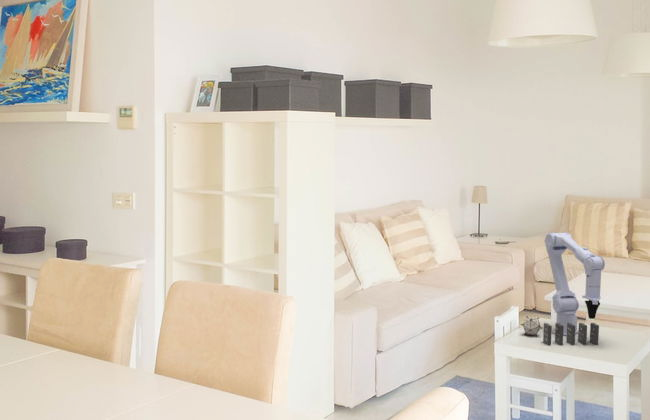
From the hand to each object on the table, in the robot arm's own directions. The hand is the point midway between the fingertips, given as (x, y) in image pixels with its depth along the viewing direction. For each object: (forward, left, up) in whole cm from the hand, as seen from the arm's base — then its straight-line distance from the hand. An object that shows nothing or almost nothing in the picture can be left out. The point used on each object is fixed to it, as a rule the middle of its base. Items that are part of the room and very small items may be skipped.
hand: (591, 318), depth 313 cm
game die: (+6, -24, -11) cm, 27 cm away
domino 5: (-1, +1, -10) cm, 11 cm away
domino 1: (+14, -12, -10) cm, 21 cm away
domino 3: (+6, -6, -10) cm, 14 cm away
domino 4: (+3, -2, -10) cm, 11 cm away
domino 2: (+10, -9, -10) cm, 17 cm away
